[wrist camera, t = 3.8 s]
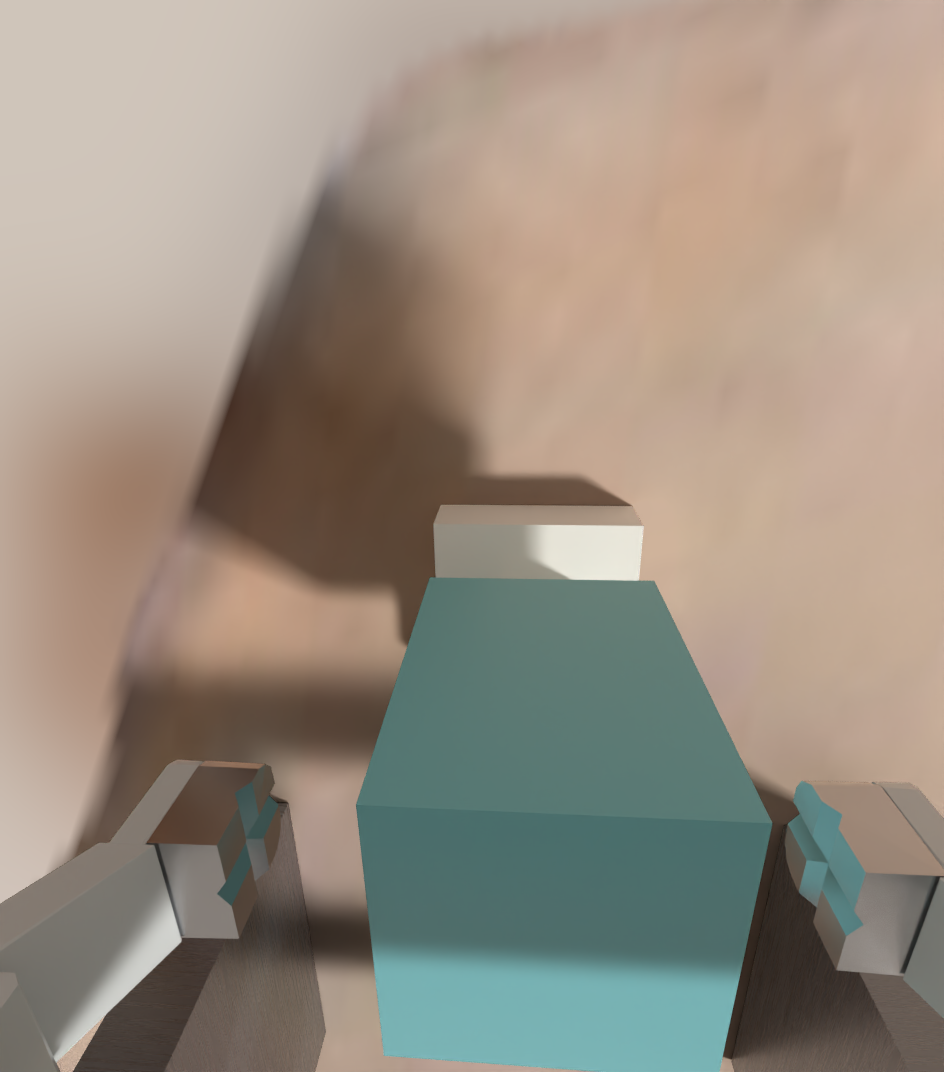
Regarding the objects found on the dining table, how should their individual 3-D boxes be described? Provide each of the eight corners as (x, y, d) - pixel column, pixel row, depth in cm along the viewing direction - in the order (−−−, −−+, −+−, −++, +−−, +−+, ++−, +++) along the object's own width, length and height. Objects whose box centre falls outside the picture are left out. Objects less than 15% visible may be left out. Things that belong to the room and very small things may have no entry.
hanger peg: (632, 505, 16) (801, 806, 6) (618, 670, 17) (734, 1092, 8) (440, 504, 16) (331, 786, 7) (446, 665, 18) (367, 1065, 8)
